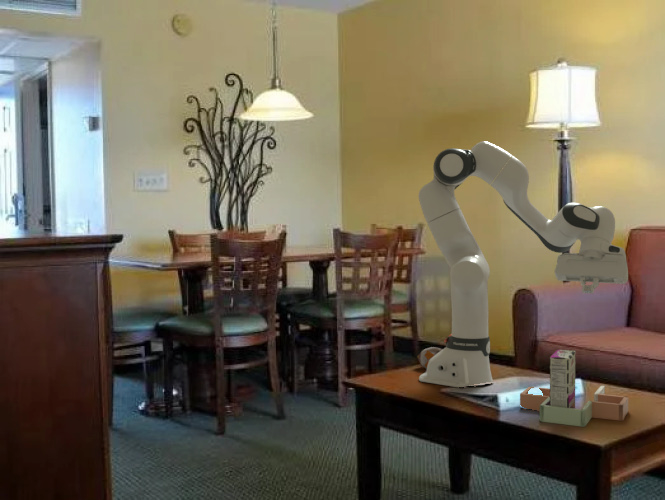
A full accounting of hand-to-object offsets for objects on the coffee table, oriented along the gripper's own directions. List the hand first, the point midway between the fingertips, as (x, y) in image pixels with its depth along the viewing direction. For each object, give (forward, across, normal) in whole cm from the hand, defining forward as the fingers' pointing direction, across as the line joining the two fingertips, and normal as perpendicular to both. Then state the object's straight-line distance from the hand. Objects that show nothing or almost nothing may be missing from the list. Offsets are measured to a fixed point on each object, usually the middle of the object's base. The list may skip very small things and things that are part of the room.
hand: (587, 292), depth 226 cm
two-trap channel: (+35, +1, +5) cm, 35 cm away
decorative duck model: (+13, -50, +31) cm, 60 cm away
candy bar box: (+40, 0, 0) cm, 40 cm away
